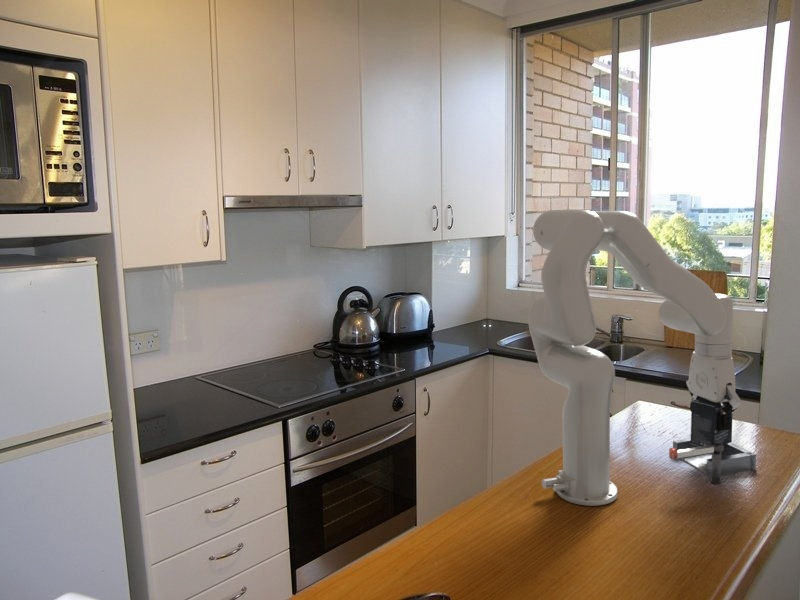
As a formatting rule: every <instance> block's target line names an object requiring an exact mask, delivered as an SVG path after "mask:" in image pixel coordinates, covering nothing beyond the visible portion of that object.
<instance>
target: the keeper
mask: <svg viewBox="0 0 800 600" xmlns="http://www.w3.org/2000/svg"><path fill="white" fill-rule="evenodd" d="M723 446H724V451H723V452H712V453H706V454H700V455H694V456H688V457H682V458H679V459H680V460H682V461H683V462H685V463H687V464H688V465H690V466H692V467H694V468H696V469H697V470H699V471H700V472H702V473H704V474H706V475H707V476H709V477H711V478H710V481H711V483H712V484H714V485H721V482H722V481H721V480H722V476H723V475H724V476H725V475H730V474H731V475H732V474H737V473H741V472H748V471H754V470H757V469H756V468H757V465H756V464H757V454H756V453H755V452H753V451H750V450H748V449H745V448H744V447H742V446H740V445H738V444H736V443H734V442H730V443H728V444H726V445H723ZM694 447H699V446H696V445H693V444H691V437H688V438H687V437H686V438H682V439H681V438H680V439H676V440H675V439H673V440H672V448H676V449H678V450H681V449H687V448H694Z"/></svg>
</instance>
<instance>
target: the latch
mask: <svg viewBox="0 0 800 600" xmlns="http://www.w3.org/2000/svg"><path fill="white" fill-rule="evenodd" d="M668 451H669V452H668V457H669V459H672V460H677V459H680V458H682V457H688V456H694V455H700V454H706V453H712V452H723V451H724V446H723V445H722V444H718V443H712V444H710V445H706V446H700V447H694V448H687V449H681V450H678V449H676V448H673V447H670V448H669V450H668Z"/></svg>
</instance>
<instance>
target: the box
mask: <svg viewBox="0 0 800 600" xmlns="http://www.w3.org/2000/svg"><path fill="white" fill-rule="evenodd" d="M691 401H692V400H691ZM723 406H724V407H726V403H725V402H724V403H723ZM690 412H691V414H690V415H691V416H690V417H691V421H690V438H691V444H693V445H696V446H699V447H700V446H706V445H710V444H712V443H718V444H722V445H726V444H728V443H730V442H732V440H733V415H734V413H732V416H731V429H730V430H724V431H719V430H717V416H718V413H720V411H719V408H718V405H717V403H714V402H711V401H709V400H706V399H704V398H699V399H696V400H693V401H692V411H691V410H690ZM732 443H733V442H732Z"/></svg>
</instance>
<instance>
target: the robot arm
mask: <svg viewBox="0 0 800 600" xmlns="http://www.w3.org/2000/svg"><path fill="white" fill-rule="evenodd" d="M532 233H533V237H534V240H535V243H537V245H538V246H540V247H541V248H542V249H545V250H548V251H549V252H548V253H547V256H546V258H545V260H544V263H543V266H542V270H541V284H542V289H543V295H541V296H539V297H538V298H537V299H535V300H534V301H533V302H532V304H531V306H530V307H529V311H528V316H527V318H528V319H527V323H528V328H529V332H530V333H529V334H530V337H531V340H532V343H533V349H534V352H535V355H536V359H537V363H538V364H539V368H540V370H541V372H542V374H544V376H545V377H546V378H547V379H548V380H550V381H552V382H553V383H556V384H559V385H561V386H563V387H565V388H567V389H568V394H567V396H566V398H565V401H564V403H563V406H562V415H561V417H562V419H561V420H562V421H561V422H562V469H560V470H559V469H558V475H555V477H548V478H543V479H541V486H542V488H543V489H551V488H552V489H553V491H554V492H556V494H557V495H558V496H559V497H560V498H562V499H563V500H565V501H567V502H569V503H572V504H576V505H580V506H588V507H594V506H603V505H607V504H610V503H612V502H614V501H615V500H616V499H617V497H618V495H619V493H618V491H619V490H618V487H617V485H615V484H614V483H613V482H612V481H611V479H610V476H611V472H610V471H611V470H610V468H611V467H610V466H611V465H610V464H611V463H610V461H611V459H610V458H611V457H610V456H611V455H610V454H611V453H610V451H611V447H610V445H611V443H610V442H611V441H610V439H611V437H610V435H611V433H610V431H611V427H610V426H611V425H610V424H611V420H610V419H611V418H610V416H611V399H612V393H613V388H614V383H615V378H616V370H615V366H614V364H613V362H612V360H611V359H610V358H609V356H608V355H606V354H605V353H603V352H602V351H600V350H597V349H595V348H592V347H588V346H586V345H587V344H590V342H592V341H593V339H594V337H595V335H596V332H597V322H596V316H595V313H594V312H595V311H594V308H593V305H592V304H593V303H592V300H591V296H590V292H589V287H588V283H587V282H588V281H587V276H586V275H587V274H586V273H587V267H588V263H589V261H590V259H591V256H592V255H593V254H594V252H595V251H601V252H602V251H603V252H604V251H605V252H609V254H611V255H612V256H613V257H614V258H615V260H616V261H617V262H618V263H619V264H620V266H621V267H622V268H623V269H624V271H625V272H626V273H627V275H628V276H629V277H630V278H631V279H632V280H633V282H634V283H635V284H636V285H638V286H640V287H641V288H643V289H644V290H646V291H648V292H650V293H652V294H655V295H657V296H660V297H661V298H662V297H663V298H664V299H665V300H664V301H663V302H662V303H661V304H660V306H659V308H658V318H659V320H660V322H661V323H662V324H663V325H664V326H665V327H667V328H669V329H673V330H675V331H676V330H677V331H679V332H680V331H681V332H685V333H689V334H693V335H694V350H693V352H692V354H691V358H690V363H689V372H688V380H686V382H685V383H686V386H687V389H688V391H689V394H690V396H691V401H693V400H696V399H699V398H704V399H706V400H709V401H711V402H714V403H717V405H718V408H719V411H720V413H718V416H717V430H719V431H724V430H730V429H731V416H732V417H733V415H732V413H733V414H734V413H735V410H737V409H738V407H739V406H740V405H741V404H742V400H741V398H740V396H739V395H738V394H737V392H736V373H735V372H736V371H735V363H734V358H733V321H734V320H733V318H734V317H733V316H734V301H733V298H732V297H731V296H730V295H727V294H725V293H724V294H723V293H715V292H714V290H713V289H712V288H711V287H710V286H709V285H708V284H707V283H706V282H705V281H703V279H702V278H699V277H698V276H697V275H695V274H694V273H692V272H691V271H690V270H688V269H687V268H686V267H684V266H682V265H681V264H680V263H678V262H676V260H673V258H671V257H670V256H669V255H668V254H667V253H666V251H665V250H664V248H663V247H662V246H661V244H659V242H658V240H657V239H656V238H655V237H654V236H653V234H652V233H651V232H650V230H649V229H648V228H647V226H646V225H645V224H644V222H643V221H642V220H641V219H640V217H638V216H637V215H636V214H635V213H632V212H629V211H626V210H625V211H624V210H597V211H593V210H592V211H591V210H587V209H552V210H551V209H550V210H547V211H545V212H543V213H541V214H540V215H539V216H538V217H537V218H536V220H535V221H534V223H533V228H532ZM724 402H725V403H726V407H724V406H723V403H724Z"/></svg>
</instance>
